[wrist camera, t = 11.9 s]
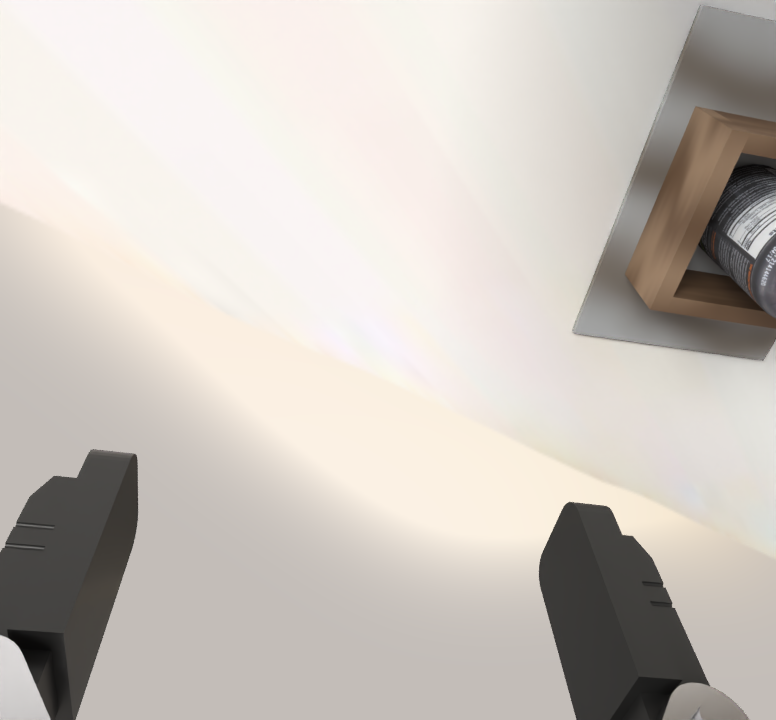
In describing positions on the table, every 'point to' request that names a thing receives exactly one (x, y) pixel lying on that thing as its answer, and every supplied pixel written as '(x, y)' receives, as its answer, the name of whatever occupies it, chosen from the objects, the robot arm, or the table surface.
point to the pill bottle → (746, 233)
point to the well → (691, 199)
